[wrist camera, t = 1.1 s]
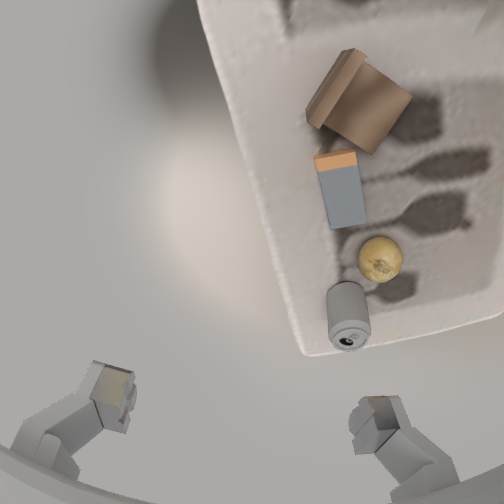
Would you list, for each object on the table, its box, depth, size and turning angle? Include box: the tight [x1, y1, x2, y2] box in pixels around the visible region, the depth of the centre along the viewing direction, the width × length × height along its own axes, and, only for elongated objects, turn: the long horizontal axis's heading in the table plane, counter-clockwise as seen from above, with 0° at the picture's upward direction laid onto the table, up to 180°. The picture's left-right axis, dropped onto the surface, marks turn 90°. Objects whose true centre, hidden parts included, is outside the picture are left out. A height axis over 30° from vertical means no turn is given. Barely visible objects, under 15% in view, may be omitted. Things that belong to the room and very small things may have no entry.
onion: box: [358, 237, 403, 283], centre depth 49 cm, size 8×8×7 cm
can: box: [327, 282, 371, 352], centre depth 53 cm, size 8×8×12 cm
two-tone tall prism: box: [314, 148, 367, 230], centre depth 45 cm, size 12×6×2 cm, turn 18°
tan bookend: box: [305, 48, 412, 155], centre depth 34 cm, size 10×10×10 cm
